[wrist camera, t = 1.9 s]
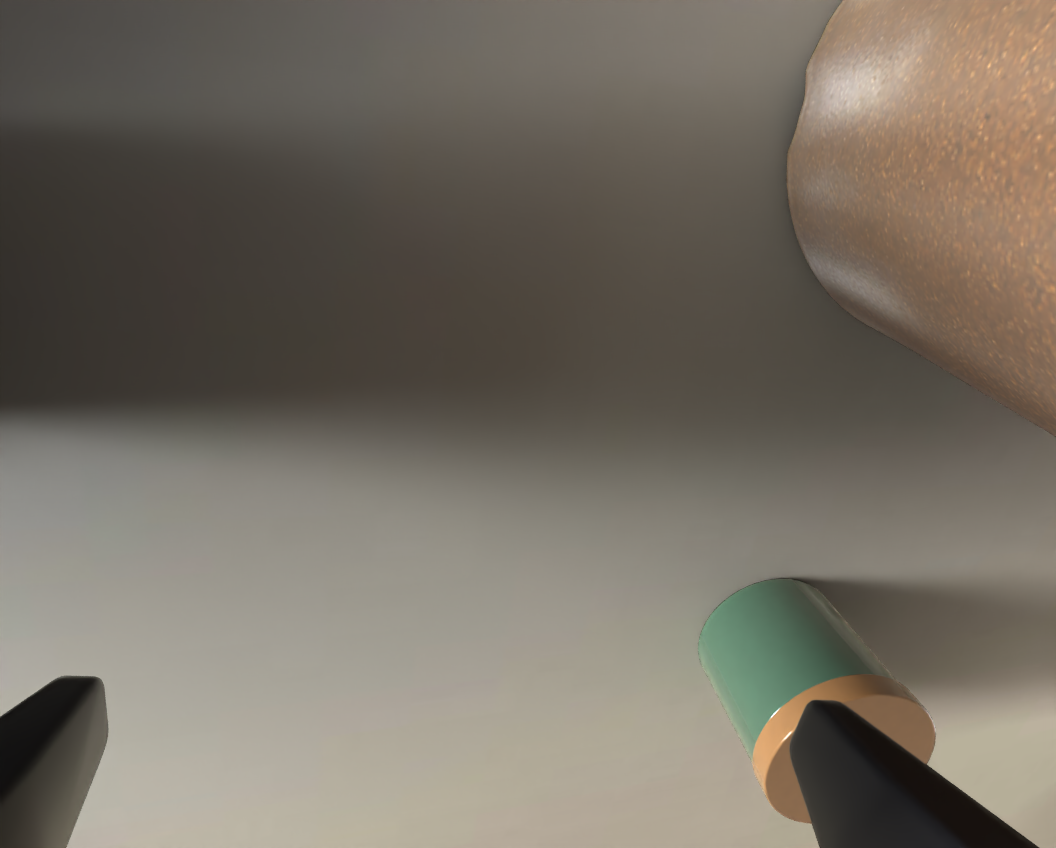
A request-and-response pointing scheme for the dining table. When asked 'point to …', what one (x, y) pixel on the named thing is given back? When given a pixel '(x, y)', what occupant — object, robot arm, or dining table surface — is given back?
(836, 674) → the jar
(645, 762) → the dining table surface
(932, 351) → the plant pot
